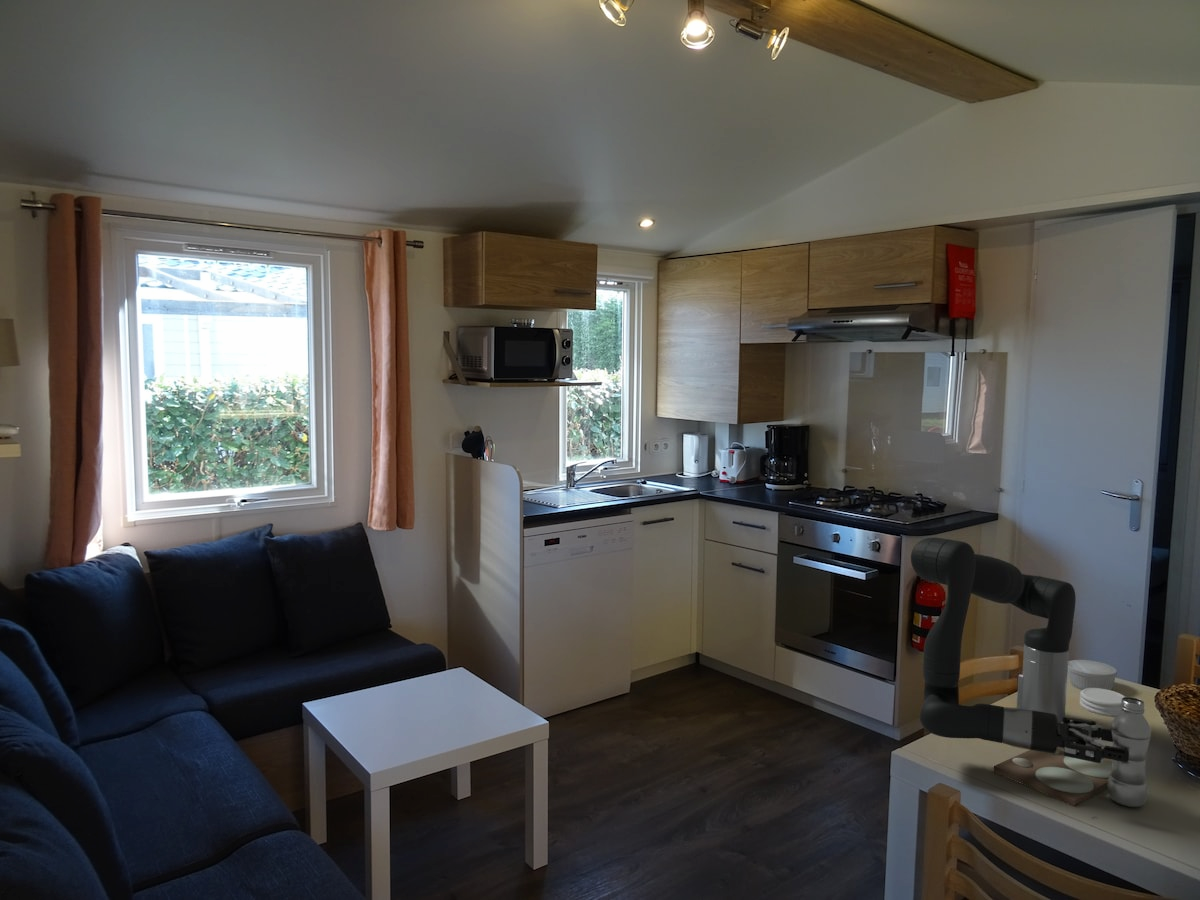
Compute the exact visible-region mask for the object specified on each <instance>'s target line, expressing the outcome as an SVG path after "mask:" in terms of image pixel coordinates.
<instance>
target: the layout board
mask: <svg viewBox="0 0 1200 900" xmlns="http://www.w3.org/2000/svg"><path fill="white" fill-rule="evenodd" d="M1091 757H1093V756H1091ZM1112 761H1113V760H1112V759H1106V758H1104V760H1101V763H1096V762H1091V761H1086V760H1081V759H1076V758H1072V757H1067V756H1064V748H1061V747H1056V753H1055V754H1050V753H1045V752H1039V751H1034V750H1029V749H1027V750H1026V751H1024V752H1022V753H1019V754H1017V755H1015V756H1013V757H1010V758H1009V759H1006V760H1004V761H1002V762H1000V763H998V764H994V765H993V772H994V773H995V772H997V773H996V774H998V773H999V774H998V775H1000V774H1001V775H1000V776H1002V775H1004V776H1003V777H1005V776H1006V777H1005V778H1007V777H1009V778H1011V779H1010V780H1012V779H1013V781H1014V780H1016V781H1018V782H1017V783H1019V782H1021V783H1023V784H1026V785H1028V786H1030V787H1032V788H1031V789H1033V788H1034V790H1035V789H1036V790H1035V791H1037V790H1038V791H1037V792H1040V791H1041V792H1040V793H1042V792H1043V794H1044V793H1045V795H1047V794H1048V795H1047V796H1049V795H1050V796H1049V797H1051V796H1053V797H1052V798H1054V799H1056V798H1057V799H1056V800H1058V799H1059V801H1061V802H1063V801H1064V802H1063V803H1065V802H1066V804H1068V803H1069V804H1068V805H1070V806H1072V805H1073V807H1075V806H1077V805H1078V803H1079V804H1081V803H1082V802H1084V801H1086V800H1088V799H1090V798H1092V797H1094V796H1095V795H1097V794H1099V793H1100V791H1101V792H1103V791H1105V790H1107V789H1108V788H1107V784H1108V779H1109V776H1110V773H1111V767H1112ZM1009 778H1008V779H1009ZM1016 781H1015V782H1016ZM1021 783H1020V784H1021ZM1023 784H1022V785H1023ZM1026 785H1025V786H1026ZM1028 786H1027V787H1028ZM1030 787H1029V788H1030ZM1093 795H1094V796H1093ZM1091 796H1092V797H1091ZM1089 797H1090V798H1089ZM1080 802H1081V803H1080ZM1076 804H1077V805H1076ZM1074 805H1075V806H1074Z"/></svg>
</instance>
